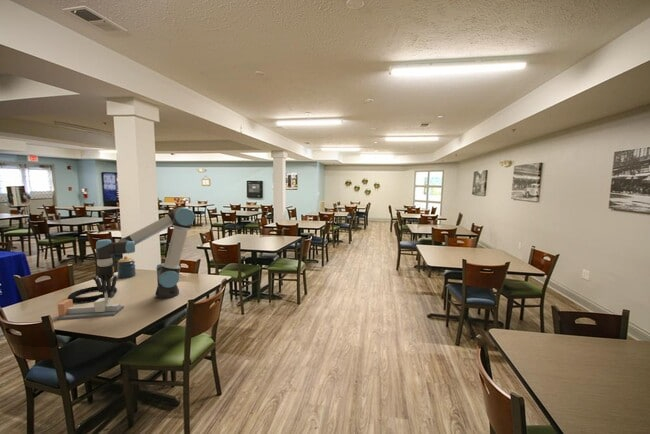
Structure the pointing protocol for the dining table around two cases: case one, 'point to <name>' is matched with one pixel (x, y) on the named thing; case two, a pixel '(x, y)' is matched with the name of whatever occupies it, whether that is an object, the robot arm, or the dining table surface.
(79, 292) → the cable lock
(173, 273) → the robot arm
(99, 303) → the block
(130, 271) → the canister
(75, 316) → the rail board
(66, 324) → the dining table surface
